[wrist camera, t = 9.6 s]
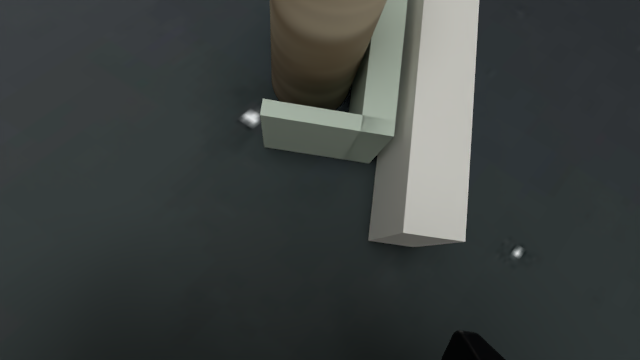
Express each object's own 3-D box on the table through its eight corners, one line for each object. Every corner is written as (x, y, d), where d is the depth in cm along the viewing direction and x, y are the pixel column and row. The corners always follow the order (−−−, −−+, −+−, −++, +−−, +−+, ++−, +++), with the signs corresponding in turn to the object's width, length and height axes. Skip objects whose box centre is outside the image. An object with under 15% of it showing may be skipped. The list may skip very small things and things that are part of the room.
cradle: (264, 146, 18) (260, 115, 14) (288, 2, 19) (290, -63, 15) (369, 163, 18) (394, 136, 14) (385, 20, 20) (411, -40, 16)
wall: (368, 240, 17) (403, 232, 12) (398, -39, 20) (436, -134, 15) (413, 247, 18) (464, 241, 13) (436, -32, 20) (485, -123, 16)
